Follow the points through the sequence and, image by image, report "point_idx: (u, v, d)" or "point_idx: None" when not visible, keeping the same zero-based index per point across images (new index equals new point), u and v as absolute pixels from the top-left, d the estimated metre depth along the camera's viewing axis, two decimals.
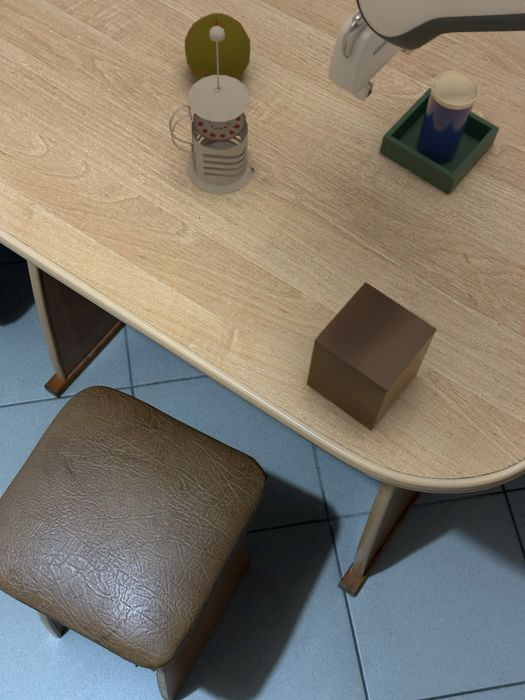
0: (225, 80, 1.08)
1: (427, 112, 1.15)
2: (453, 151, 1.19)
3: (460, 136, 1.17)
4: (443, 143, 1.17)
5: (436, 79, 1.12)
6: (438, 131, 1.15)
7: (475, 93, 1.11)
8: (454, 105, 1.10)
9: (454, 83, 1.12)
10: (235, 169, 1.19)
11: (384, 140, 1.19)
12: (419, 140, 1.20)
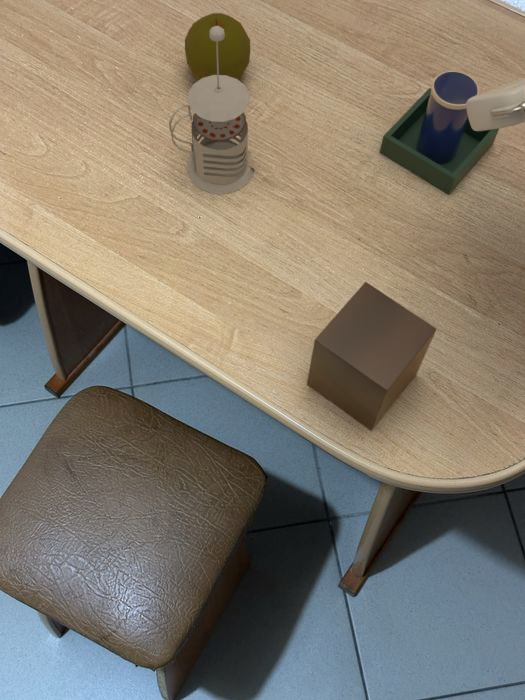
0: (225, 80, 1.08)
1: (427, 112, 1.15)
2: (453, 151, 1.19)
3: (460, 136, 1.17)
4: (443, 143, 1.17)
5: (436, 79, 1.12)
6: (438, 131, 1.15)
7: (475, 93, 1.11)
8: (454, 105, 1.10)
9: (454, 83, 1.12)
10: (235, 169, 1.19)
11: (384, 140, 1.19)
12: (419, 140, 1.20)
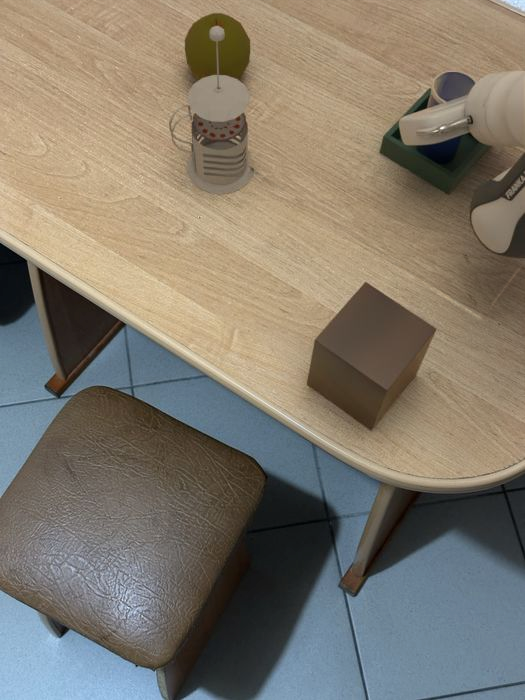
0: (225, 80, 1.08)
1: None
2: (453, 151, 1.19)
3: (460, 136, 1.17)
4: (443, 143, 1.17)
5: (436, 79, 1.12)
6: None
7: None
8: None
9: (454, 83, 1.12)
10: (235, 169, 1.19)
11: (384, 140, 1.19)
12: None
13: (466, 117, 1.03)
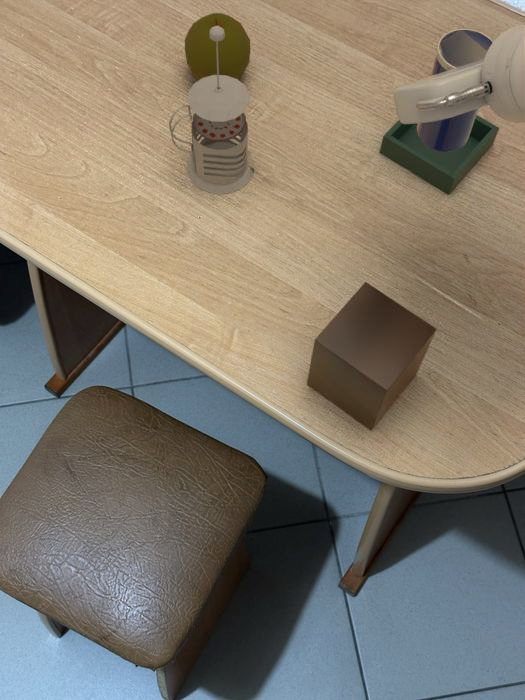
0: (225, 80, 1.08)
1: None
2: (464, 135, 0.93)
3: (473, 114, 0.91)
4: (452, 124, 0.91)
5: (442, 39, 0.86)
6: None
7: None
8: None
9: (466, 44, 0.86)
10: (235, 169, 1.19)
11: (384, 140, 1.19)
12: None
13: (483, 84, 0.77)
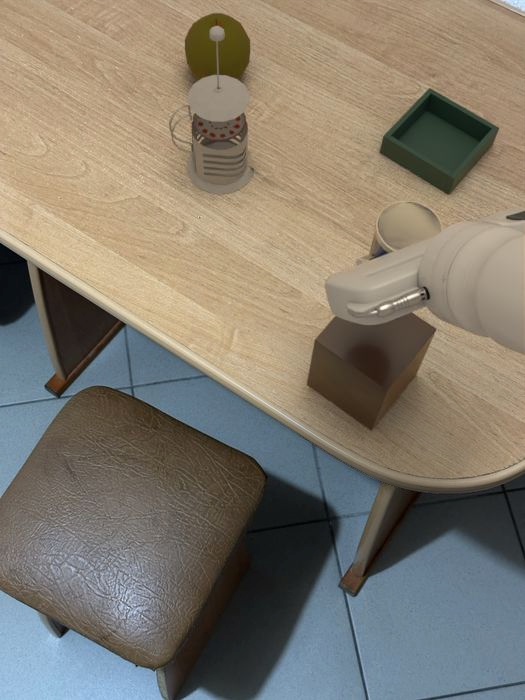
0: (225, 80, 1.08)
1: None
2: None
3: None
4: None
5: (382, 214, 0.78)
6: None
7: None
8: None
9: (408, 220, 0.77)
10: (235, 169, 1.19)
11: (384, 140, 1.19)
12: None
13: (419, 290, 0.68)
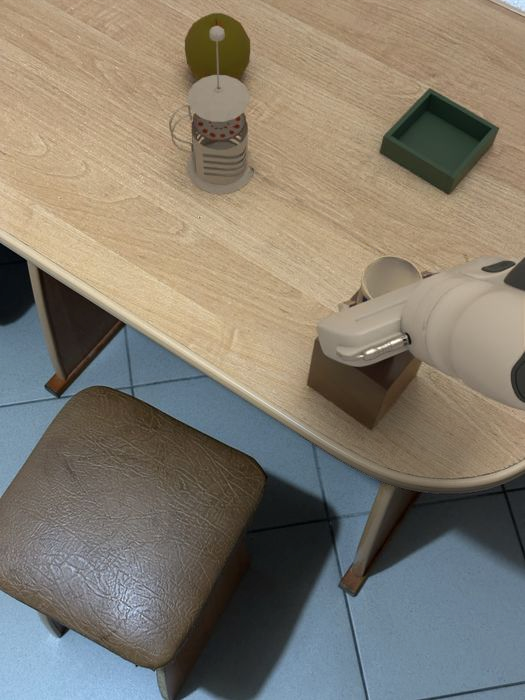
0: (225, 80, 1.08)
1: None
2: None
3: None
4: None
5: (367, 268, 0.85)
6: None
7: None
8: None
9: (391, 274, 0.84)
10: (235, 169, 1.19)
11: (384, 140, 1.19)
12: None
13: (402, 336, 0.75)
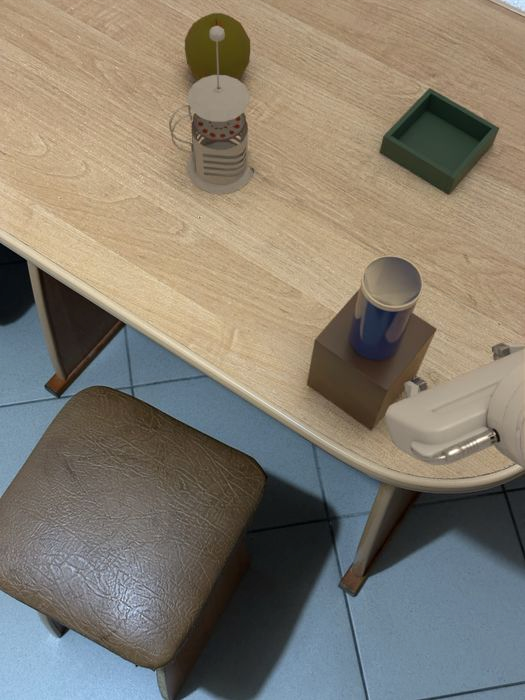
0: (225, 80, 1.08)
1: (358, 305, 0.88)
2: (394, 347, 0.92)
3: (402, 332, 0.89)
4: (381, 342, 0.89)
5: (367, 268, 0.85)
6: (372, 329, 0.88)
7: (418, 289, 0.84)
8: (389, 307, 0.83)
9: (391, 274, 0.84)
10: (235, 169, 1.19)
11: (384, 140, 1.19)
12: (351, 331, 0.93)
13: (489, 433, 0.65)
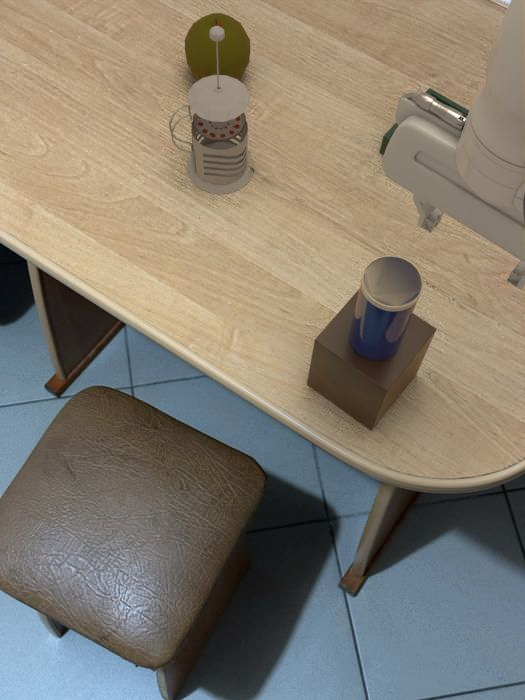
0: (225, 80, 1.08)
1: (358, 305, 0.88)
2: (394, 347, 0.92)
3: (402, 332, 0.89)
4: (381, 342, 0.89)
5: (367, 268, 0.85)
6: (372, 329, 0.88)
7: (418, 289, 0.84)
8: (389, 307, 0.83)
9: (391, 274, 0.84)
10: (235, 169, 1.19)
11: (384, 140, 1.19)
12: (351, 331, 0.93)
13: None
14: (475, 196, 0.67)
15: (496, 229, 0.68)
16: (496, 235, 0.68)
